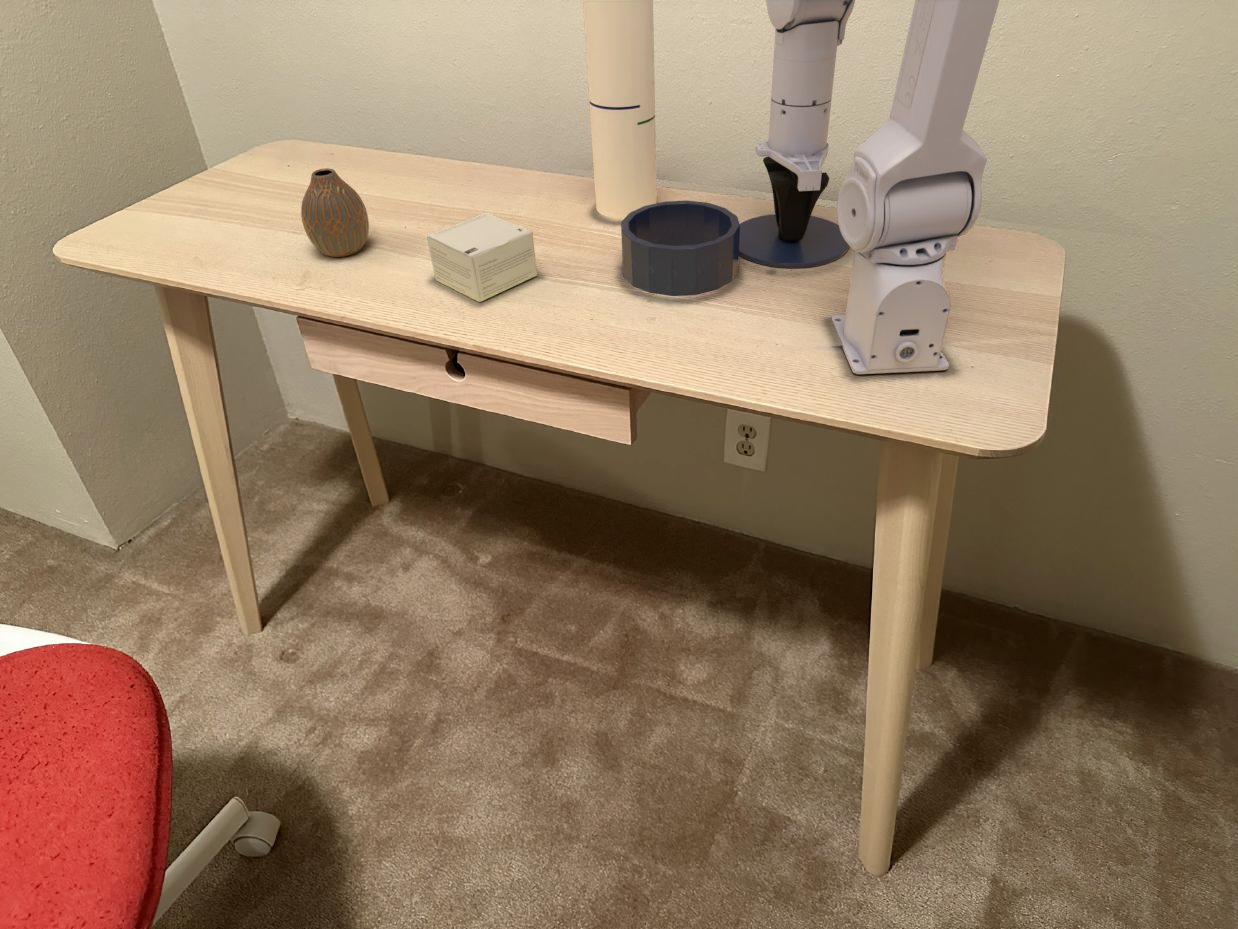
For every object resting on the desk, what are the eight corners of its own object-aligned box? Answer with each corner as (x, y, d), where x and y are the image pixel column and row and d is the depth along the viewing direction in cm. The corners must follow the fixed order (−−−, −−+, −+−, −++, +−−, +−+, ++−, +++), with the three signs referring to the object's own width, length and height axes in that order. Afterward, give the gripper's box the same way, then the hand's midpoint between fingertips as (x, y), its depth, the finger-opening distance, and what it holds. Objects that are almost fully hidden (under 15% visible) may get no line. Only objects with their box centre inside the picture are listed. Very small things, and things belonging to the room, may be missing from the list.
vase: (300, 261, 94) (276, 182, 89) (330, 234, 99) (310, 159, 94) (357, 265, 93) (336, 185, 87) (385, 238, 98) (367, 161, 92)
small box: (492, 255, 93) (486, 210, 90) (539, 277, 89) (534, 229, 85) (433, 280, 89) (424, 234, 86) (479, 304, 84) (471, 256, 81)
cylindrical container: (589, 204, 103) (572, -33, 87) (645, 195, 104) (639, -40, 89) (606, 226, 98) (592, -22, 82) (665, 216, 99) (662, -30, 83)
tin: (743, 297, 83) (746, 245, 80) (624, 303, 83) (622, 251, 80) (729, 246, 92) (731, 197, 89) (622, 251, 92) (619, 203, 89)
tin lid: (861, 270, 86) (868, 227, 84) (737, 276, 87) (739, 233, 84) (834, 220, 96) (839, 179, 93) (722, 225, 96) (724, 185, 94)
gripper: (748, 79, 88) (742, 207, 96) (771, 124, 76) (762, 264, 85) (817, 75, 88) (805, 204, 96) (850, 120, 76) (833, 261, 85)
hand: (789, 232), depth 90 cm, fingers closed on tin lid, 2 cm apart
